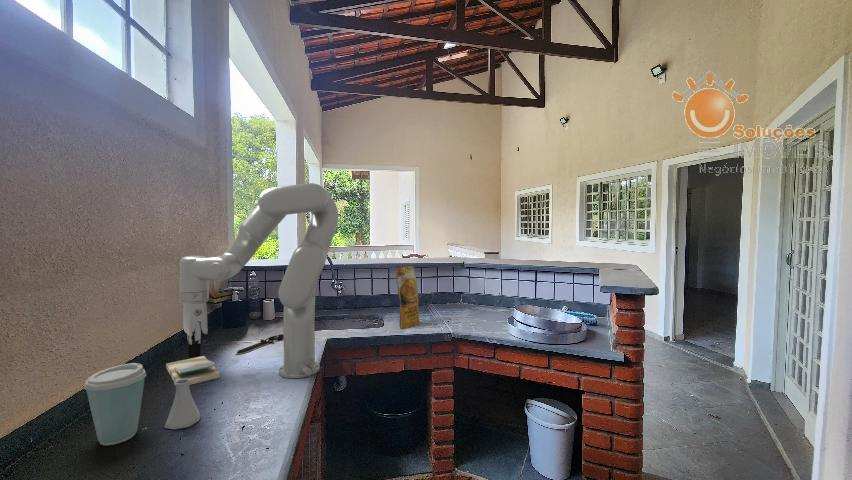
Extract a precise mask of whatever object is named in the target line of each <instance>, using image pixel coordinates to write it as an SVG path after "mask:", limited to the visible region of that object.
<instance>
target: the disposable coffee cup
mask: <svg viewBox="0 0 852 480" xmlns="http://www.w3.org/2000/svg"><path fill="white" fill-rule="evenodd" d="M146 377H147V372H146V370H145V368H144V366H143V364H141V363H137V362H130V363H124V364H123V363H122V364H120V365H115V366H111V367H108V368H106V369H103V370H100V371H97V372H95V373H93V374H92V375H91V376H88V378H87V379H86V380H85V381H84V390H86V394H87V400H88V403H89V409H90V411H91V417H92V420H93V425H94V429H95V434H96V438H97V442H99V444H100V446H101V445H102V446H105V447H106V446H113V445H116V444H120V443H123V442H124V443H125V442H126V441H128V440H131V439H132V438H133V437H134V436H135V435H136V434H137V431H138V430H139V429H138V427H139V420H140V414H141V407H142V401H143V400H142V399H143V392H144V386H145V380H146V379H145V378H146Z"/></svg>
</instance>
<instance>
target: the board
mask: <svg viewBox="0 0 852 480" xmlns="http://www.w3.org/2000/svg"><path fill="white" fill-rule="evenodd" d="M207 360H209V359H207V357H206V356H205V355H202V356H201V355H200V356H198V357H192V358H187V359H182V360H176V361H172V362H168V363H165V368H166V370H167V372H168V374H169V376H170V377H171V379H172V381H173V382H174V383H175V381H177V380H180V379H186V378H187V379H191V380H190V383H189V386H191V385H195V384H201V383H203V382H208V381H212V380H216V379H220V378H221V373H220V371H219V370H218V369H217V368H216V367H215V366H213V367H209V368H204V369H200V370H195V371H190V372H186V373H181V374H180V373H178V372H176V371H175V367H178V366H183V365H188V364H193V363H198V362H202V361H207ZM174 383H173V384H174Z"/></svg>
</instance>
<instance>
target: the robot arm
mask: <svg viewBox="0 0 852 480" xmlns="http://www.w3.org/2000/svg"><path fill="white" fill-rule="evenodd" d="M302 213H310V214H311V217H310V221H309V224H308V226H307V229H306V231H305V235H304V237H303V240H302V242H301V244H300V245H298V246H297V247H296V248H295V249H294V251H293V252H292V255H291V257H290V260H289V261H288V265H287V267H286V270H285V272H284V274H283V275H284V276H283V277H282V280H281V283H280V286H279V288H278V299H279V301H280V302H281V304H282V305H283V334H284V338H283V365H281V366H280V367H279V368H278V375H279V376H280V377H282V378H286V379H302V378H306V377H310V376H314V375H315V374H316V373H318V372H320V369H321V366H320V364H319V363H318V362H317V361H315V360H316V358H315V357H316V352H315V350H316V346H315V345H316V343H315V342H316V328H315V327H316V324H315V323H316V318H315V317H316V287H317V284H318V281H319V279H320V276H321V273H322V271H323V269H324V266H325V264H326V262H327V256H328V253H329V250H330V247H331V245H332V243H333V239H334V236H335V234H336V231H337V228H338V225H339V210H338V207H337V204H336V202H335V200H334V199H333V198H332V196H331V195H330V194H329V193H328V191H327V190H326V189H325V188H324V187H323V186H322V185H320V184H317V183H314V182H311V183H300V184H291V185H283V186H281V185H280V186H273V187H267V188H266V189H264V190H262V191H261V192H260V194H259V196H258V198H257V205H256V206H255V207H253V209H252V210H251V211H250V213H249V214H248V215H247V216H246V217H245V218H244V219H243V220H242V222H241V223H240V225H239V227H238V234H237V235H236V237H235V240H234V241H233V242H232V243H231V245H230V246H229V247H228V248H227V249H226V250H225V252H224V253H223V254H222V255H217V256H212V257H211V256H210V257H207V256H204V255H187V256H182V257H181V258H180V260H179V303H180V304H183V306H182V307H183V311H182V312H183V313H182V320H183V321H182V323H183V324H182V326H183V327H182V328H183V331H184V332H185V333H186V335H187V345H186V351H187V353H186V354H187V355H186V357H188V358H187V359H191V358H196V357H201V349H202V348H201V339H202V336H201V335H202V334H204V335H208V332H209V330H208V328H209V327H208V309H207V302H209V295H210V292H209V291H210V287H209V285H210V284H209V283H210V282H224V281H226V280H228V279H231V278H232V277H234V276H236V275H238V274H239V273H240V271H242V269H243V268H244V267H245V266H246V265H247V264H248V262H249V261H250V260H251V259H252V258H253V256H254V255H256V253H257V252H258V250H259V248H260V247H261V246H262V245H263V243H264V242H265V241H266V240H267V238H268V237H269V236H270V235H271V234H272V233H273V231H274V230H275V229H276V228H277V227H278V226H279V224H280V223H281V222H282V221H283V219H285V218H286V216H287V215H294V214H295V215H296V214H302Z"/></svg>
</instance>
